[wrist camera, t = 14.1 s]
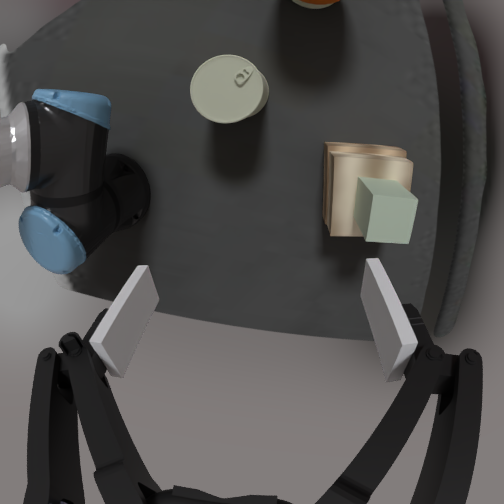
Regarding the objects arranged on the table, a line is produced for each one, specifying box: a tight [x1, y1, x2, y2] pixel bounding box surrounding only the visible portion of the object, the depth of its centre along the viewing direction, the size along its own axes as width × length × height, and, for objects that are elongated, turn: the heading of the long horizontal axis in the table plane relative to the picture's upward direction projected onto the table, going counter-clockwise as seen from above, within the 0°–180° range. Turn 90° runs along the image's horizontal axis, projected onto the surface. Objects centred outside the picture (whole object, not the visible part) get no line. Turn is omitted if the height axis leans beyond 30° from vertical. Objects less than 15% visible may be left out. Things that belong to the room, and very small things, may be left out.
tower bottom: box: [323, 142, 407, 224], centre depth 44 cm, size 13×13×4 cm
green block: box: [353, 177, 418, 244], centre depth 35 cm, size 6×6×8 cm
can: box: [190, 55, 269, 123], centre depth 35 cm, size 9×9×12 cm
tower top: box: [327, 151, 413, 237], centre depth 40 cm, size 12×12×4 cm
